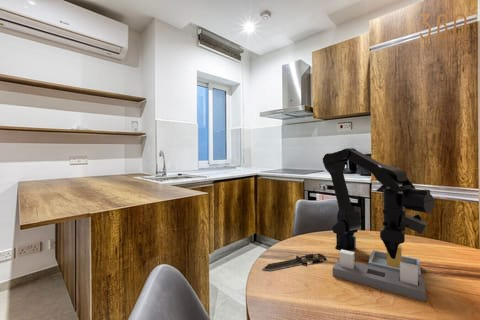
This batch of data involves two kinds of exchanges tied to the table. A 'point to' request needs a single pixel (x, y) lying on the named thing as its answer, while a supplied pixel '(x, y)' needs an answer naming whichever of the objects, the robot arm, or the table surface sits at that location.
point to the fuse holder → (381, 280)
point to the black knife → (293, 262)
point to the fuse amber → (397, 260)
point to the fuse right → (409, 273)
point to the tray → (380, 261)
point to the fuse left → (347, 259)
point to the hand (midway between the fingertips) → (393, 253)
